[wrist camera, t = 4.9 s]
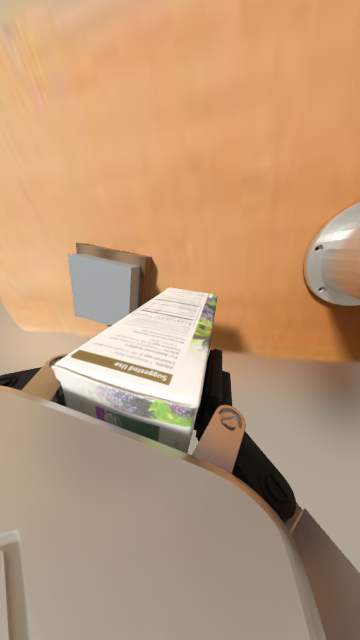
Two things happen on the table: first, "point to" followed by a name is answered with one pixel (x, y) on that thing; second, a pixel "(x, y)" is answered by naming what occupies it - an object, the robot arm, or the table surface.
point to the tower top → (103, 288)
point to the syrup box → (145, 368)
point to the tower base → (125, 258)
